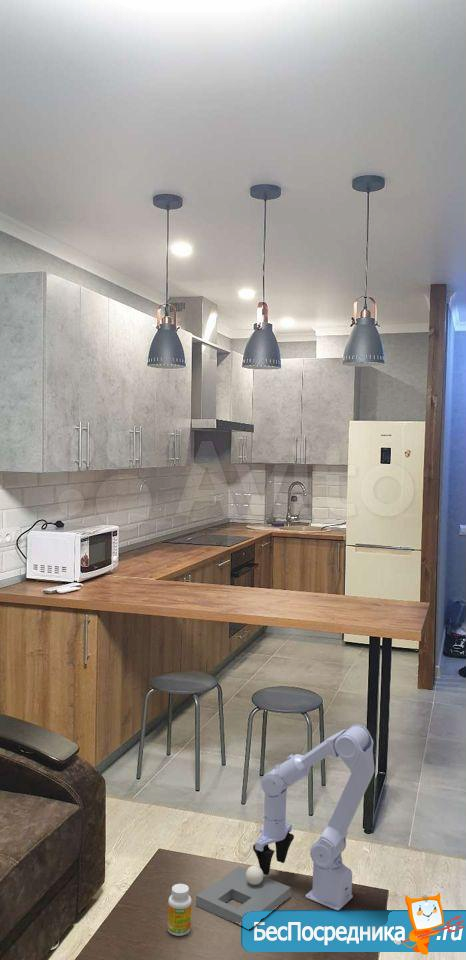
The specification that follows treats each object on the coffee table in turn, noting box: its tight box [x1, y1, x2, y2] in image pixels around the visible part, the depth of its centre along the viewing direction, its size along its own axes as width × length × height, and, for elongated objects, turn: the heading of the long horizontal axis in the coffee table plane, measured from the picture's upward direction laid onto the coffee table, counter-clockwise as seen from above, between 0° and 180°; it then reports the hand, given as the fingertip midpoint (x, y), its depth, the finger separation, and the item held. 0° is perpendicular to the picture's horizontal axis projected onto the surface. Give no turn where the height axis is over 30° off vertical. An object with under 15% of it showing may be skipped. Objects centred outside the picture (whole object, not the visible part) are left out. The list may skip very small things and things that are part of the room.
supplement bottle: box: [167, 883, 192, 937], centre depth 180 cm, size 5×5×10 cm
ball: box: [246, 865, 264, 885], centre depth 196 cm, size 4×4×4 cm
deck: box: [195, 866, 291, 923], centre depth 192 cm, size 16×18×2 cm
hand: (272, 867), depth 203 cm, fingers open, 7 cm apart
